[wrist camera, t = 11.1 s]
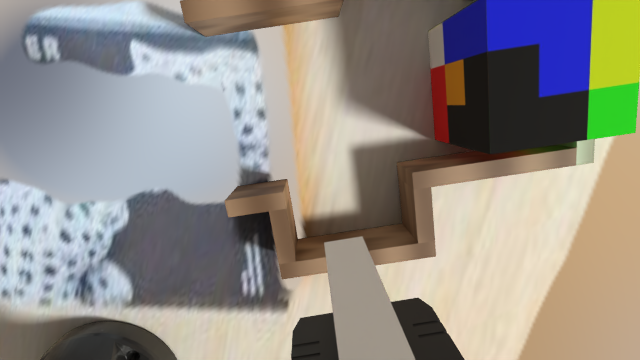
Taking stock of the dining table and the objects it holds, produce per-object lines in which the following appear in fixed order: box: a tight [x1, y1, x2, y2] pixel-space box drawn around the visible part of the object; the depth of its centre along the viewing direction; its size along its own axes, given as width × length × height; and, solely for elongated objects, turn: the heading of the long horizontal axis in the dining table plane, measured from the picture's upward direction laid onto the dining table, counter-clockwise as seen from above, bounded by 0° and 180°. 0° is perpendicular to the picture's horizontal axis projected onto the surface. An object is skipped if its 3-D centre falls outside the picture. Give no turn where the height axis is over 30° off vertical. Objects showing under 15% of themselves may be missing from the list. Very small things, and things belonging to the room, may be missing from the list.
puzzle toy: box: [428, 0, 640, 154], centre depth 26 cm, size 10×10×10 cm
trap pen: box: [180, 0, 595, 279], centre depth 28 cm, size 32×30×5 cm
